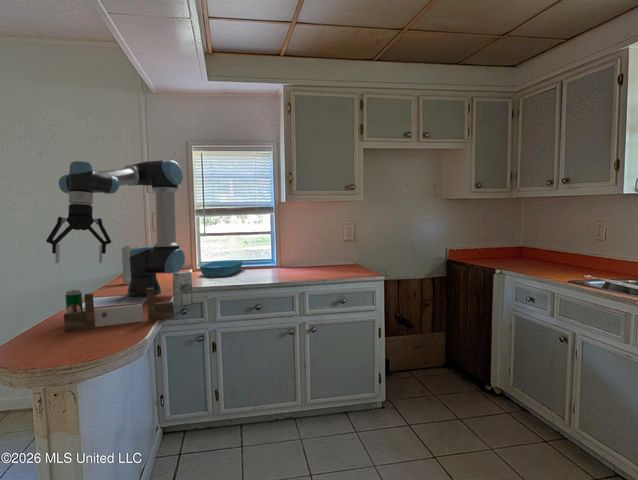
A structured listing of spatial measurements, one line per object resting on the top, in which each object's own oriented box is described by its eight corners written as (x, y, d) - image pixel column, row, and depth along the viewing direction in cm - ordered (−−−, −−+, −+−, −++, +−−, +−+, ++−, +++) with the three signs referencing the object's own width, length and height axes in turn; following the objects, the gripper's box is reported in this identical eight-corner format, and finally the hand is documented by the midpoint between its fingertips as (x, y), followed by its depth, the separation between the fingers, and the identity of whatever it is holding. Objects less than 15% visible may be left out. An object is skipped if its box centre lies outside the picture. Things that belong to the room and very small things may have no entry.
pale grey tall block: (121, 284, 226) (119, 246, 224) (129, 282, 232) (127, 245, 230) (131, 285, 224) (129, 247, 222) (139, 283, 229) (137, 246, 228)
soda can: (66, 326, 144) (64, 293, 143) (68, 322, 149) (66, 290, 148) (82, 324, 146) (80, 291, 145) (84, 320, 151) (82, 289, 150)
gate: (143, 319, 149) (142, 303, 148) (143, 321, 146) (142, 305, 146) (96, 325, 142) (95, 309, 142) (96, 327, 140) (95, 310, 139)
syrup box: (185, 302, 177) (183, 270, 176) (193, 304, 174) (191, 271, 172) (173, 305, 173) (171, 272, 172) (181, 307, 169) (179, 273, 168)
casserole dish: (214, 269, 279) (214, 259, 279) (246, 269, 278) (246, 259, 277) (194, 279, 243) (194, 267, 242) (231, 278, 241) (230, 266, 241)
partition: (66, 330, 139) (63, 295, 138) (173, 316, 154) (171, 285, 153) (64, 332, 136) (62, 297, 135) (174, 318, 151) (172, 286, 150)
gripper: (37, 201, 138) (35, 263, 138) (118, 205, 148) (117, 263, 148) (42, 203, 145) (41, 262, 145) (119, 207, 155) (118, 262, 154)
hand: (79, 263), depth 146 cm, fingers open, 13 cm apart
